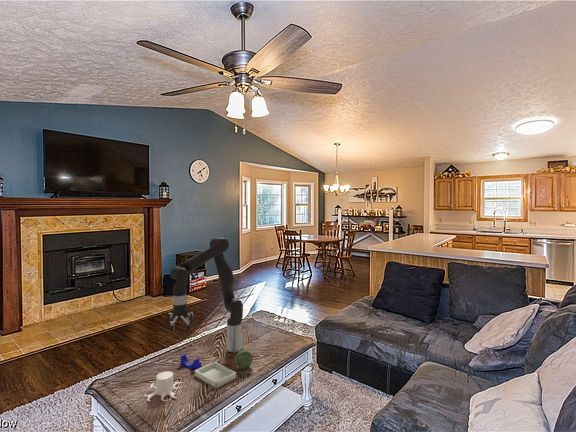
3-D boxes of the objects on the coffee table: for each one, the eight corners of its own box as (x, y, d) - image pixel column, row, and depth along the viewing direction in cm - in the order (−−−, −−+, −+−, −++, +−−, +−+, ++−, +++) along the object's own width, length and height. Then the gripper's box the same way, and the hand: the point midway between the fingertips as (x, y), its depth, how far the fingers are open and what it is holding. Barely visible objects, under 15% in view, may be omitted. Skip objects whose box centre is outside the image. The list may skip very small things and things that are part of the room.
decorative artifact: (251, 365, 187) (251, 348, 186) (254, 370, 180) (254, 353, 180) (234, 368, 183) (234, 351, 183) (237, 374, 176) (237, 356, 176)
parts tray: (215, 366, 185) (215, 361, 185) (236, 378, 172) (236, 372, 172) (194, 375, 175) (194, 370, 175) (215, 388, 162) (215, 383, 162)
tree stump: (191, 382, 168) (191, 367, 168) (171, 404, 149) (171, 387, 149) (158, 378, 172) (158, 364, 172) (134, 399, 153) (134, 383, 153)
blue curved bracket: (201, 367, 185) (201, 357, 185) (195, 370, 181) (195, 360, 181) (186, 362, 190) (186, 352, 190) (180, 365, 186) (180, 355, 186)
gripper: (194, 300, 181) (195, 328, 181) (169, 300, 181) (170, 328, 181) (190, 304, 173) (191, 333, 174) (164, 305, 173) (165, 334, 174)
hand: (181, 331), depth 178 cm, fingers open, 8 cm apart
